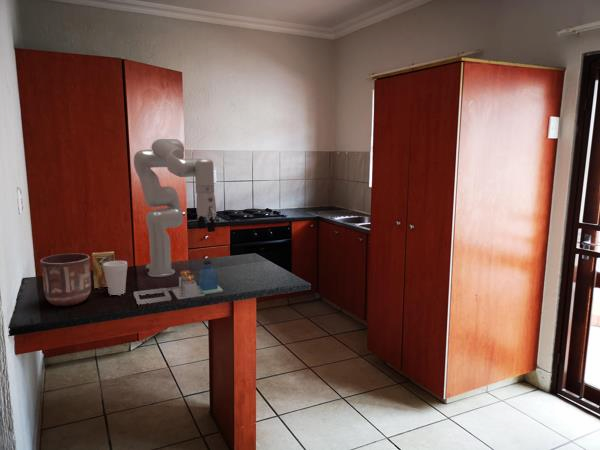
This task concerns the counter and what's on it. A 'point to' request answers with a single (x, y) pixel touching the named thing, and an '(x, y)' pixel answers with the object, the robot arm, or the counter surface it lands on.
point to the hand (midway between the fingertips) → (206, 229)
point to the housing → (179, 292)
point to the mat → (210, 290)
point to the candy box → (100, 267)
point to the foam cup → (115, 276)
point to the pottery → (66, 278)
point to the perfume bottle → (208, 277)
